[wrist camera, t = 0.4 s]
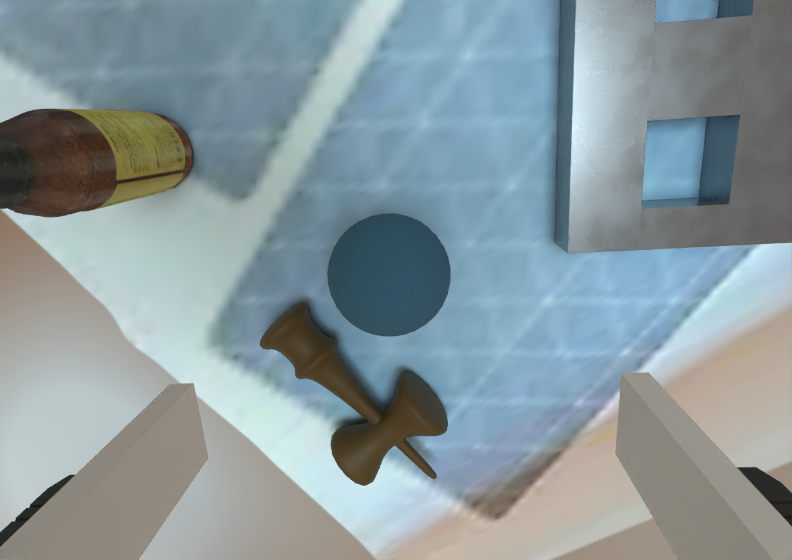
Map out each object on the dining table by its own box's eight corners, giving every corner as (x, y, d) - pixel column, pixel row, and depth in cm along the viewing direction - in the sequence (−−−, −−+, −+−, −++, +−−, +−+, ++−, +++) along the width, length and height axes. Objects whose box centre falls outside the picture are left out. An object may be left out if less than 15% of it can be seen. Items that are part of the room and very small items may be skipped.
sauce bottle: (136, 98, 39) (-147, 58, 20) (208, 135, 39) (-1, 131, 20) (112, 172, 41) (-169, 201, 22) (180, 207, 41) (-35, 266, 22)
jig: (563, -102, 33) (580, -134, 29) (811, -129, 32) (864, -165, 28) (554, 242, 40) (568, 253, 36) (760, 232, 38) (797, 242, 35)
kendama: (326, 273, 42) (475, 429, 45) (254, 339, 45) (399, 483, 48) (307, 293, 37) (479, 471, 39) (225, 368, 39) (393, 530, 42)
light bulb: (464, 229, 40) (479, 265, 28) (417, 313, 42) (413, 378, 31) (373, 181, 39) (350, 199, 28) (331, 270, 42) (293, 320, 30)
